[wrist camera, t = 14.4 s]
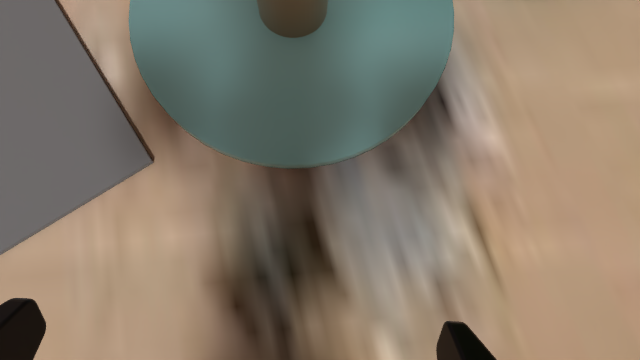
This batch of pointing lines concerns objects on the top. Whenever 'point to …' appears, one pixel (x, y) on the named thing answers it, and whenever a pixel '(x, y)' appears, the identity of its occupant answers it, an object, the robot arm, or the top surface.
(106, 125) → the mat
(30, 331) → the robot arm
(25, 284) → the top surface
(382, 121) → the teal disc with post
